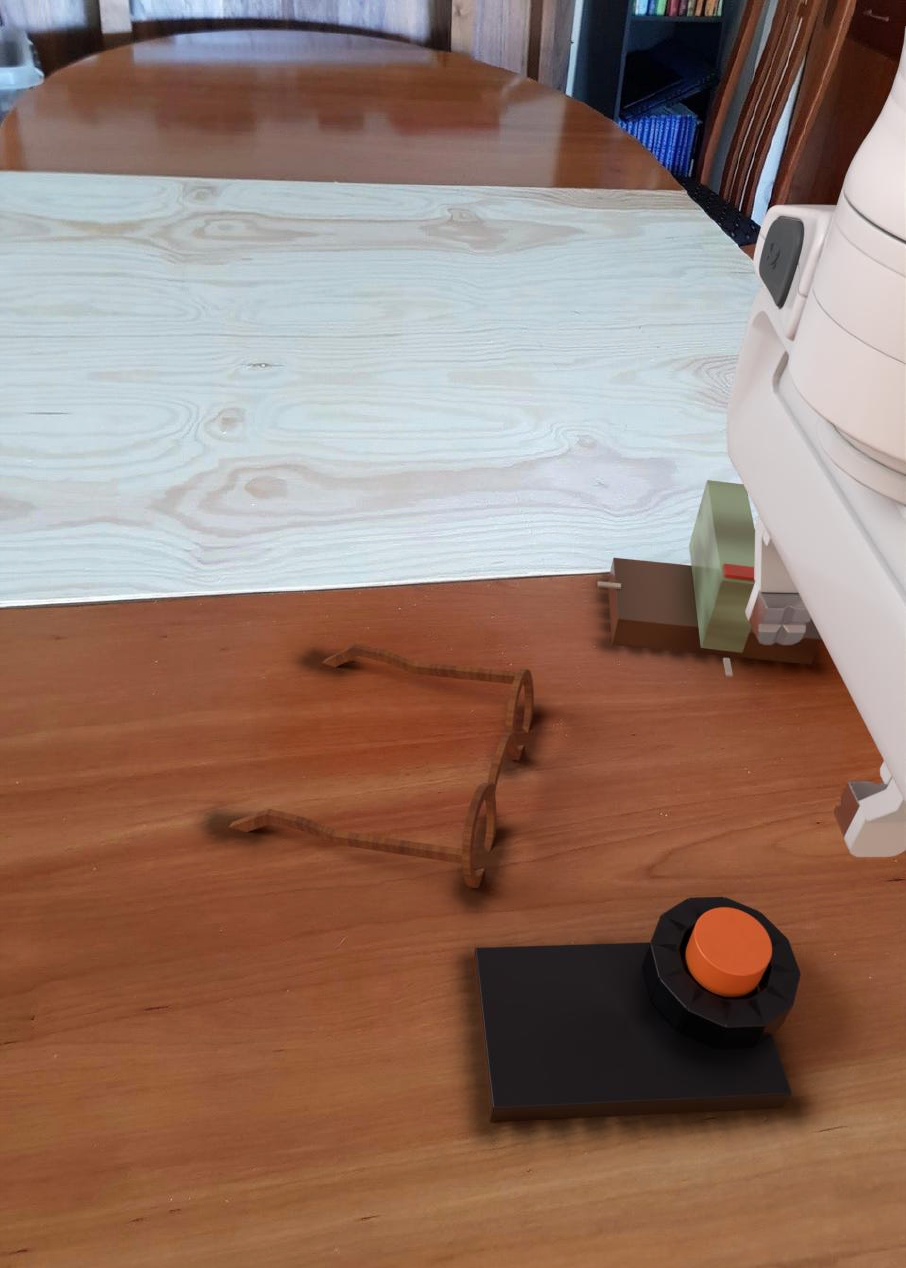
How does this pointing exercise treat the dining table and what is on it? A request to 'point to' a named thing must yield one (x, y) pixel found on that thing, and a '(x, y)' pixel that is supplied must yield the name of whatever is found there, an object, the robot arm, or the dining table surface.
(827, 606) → the robot arm
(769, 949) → the button
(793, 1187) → the dining table surface
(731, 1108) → the control block
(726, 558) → the green battery pack
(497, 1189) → the dining table surface
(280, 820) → the glasses
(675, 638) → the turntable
